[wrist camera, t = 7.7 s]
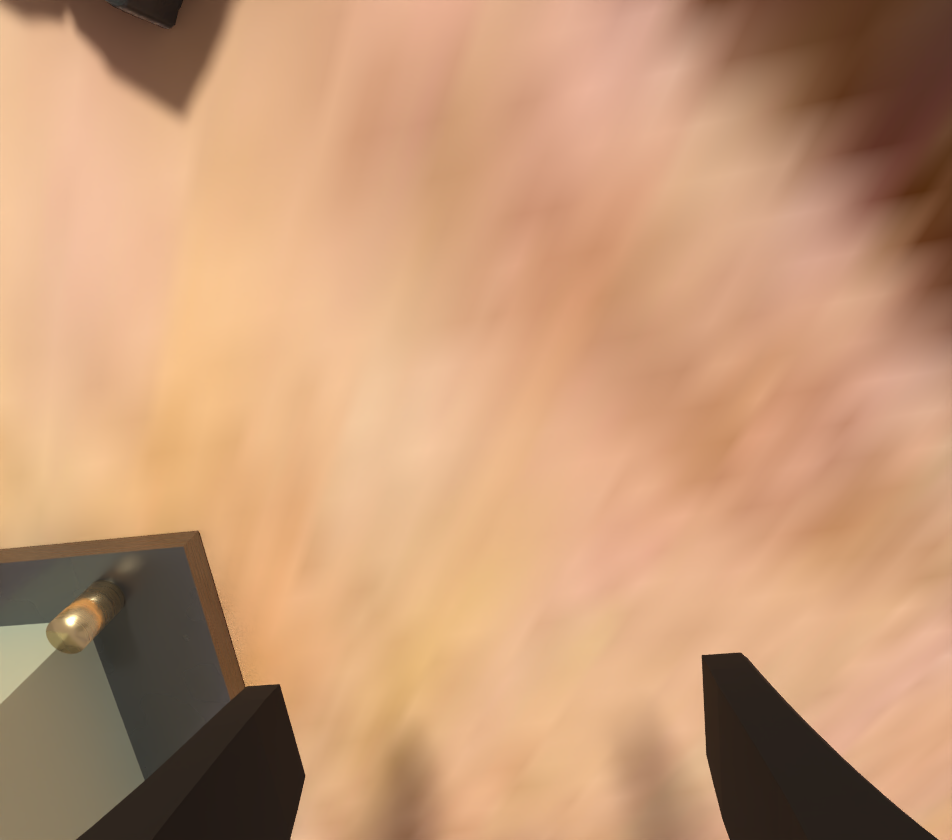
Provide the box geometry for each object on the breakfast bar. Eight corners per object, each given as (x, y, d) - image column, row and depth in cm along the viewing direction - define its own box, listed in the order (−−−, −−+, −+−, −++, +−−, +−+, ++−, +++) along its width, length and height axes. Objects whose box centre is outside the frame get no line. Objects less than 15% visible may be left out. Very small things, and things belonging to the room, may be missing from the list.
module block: (85, 620, 22) (-68, 771, 16) (155, 810, 25) (43, 999, 19) (-28, 628, 23) (-215, 778, 17) (52, 815, 25) (-88, 1000, 19)
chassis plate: (289, 839, 26) (260, 919, 23) (-1, 850, 27) (-63, 928, 24) (198, 530, 22) (148, 582, 19) (-138, 562, 23) (-231, 615, 20)
